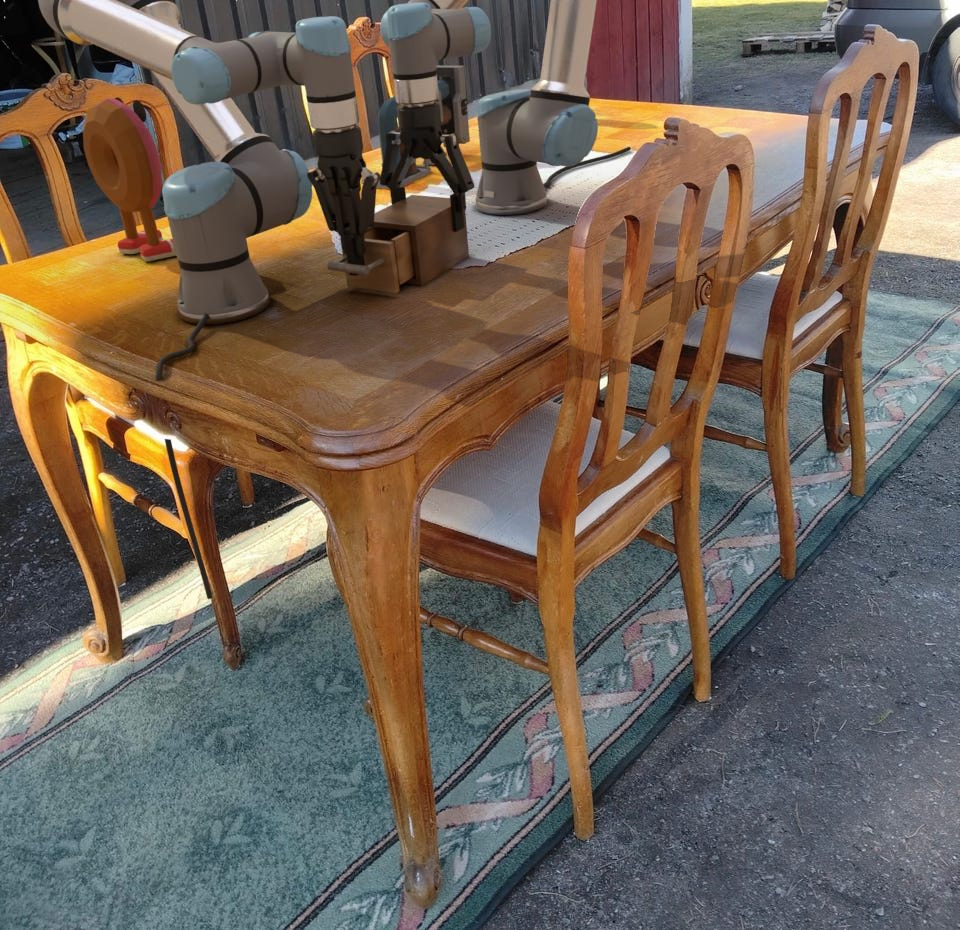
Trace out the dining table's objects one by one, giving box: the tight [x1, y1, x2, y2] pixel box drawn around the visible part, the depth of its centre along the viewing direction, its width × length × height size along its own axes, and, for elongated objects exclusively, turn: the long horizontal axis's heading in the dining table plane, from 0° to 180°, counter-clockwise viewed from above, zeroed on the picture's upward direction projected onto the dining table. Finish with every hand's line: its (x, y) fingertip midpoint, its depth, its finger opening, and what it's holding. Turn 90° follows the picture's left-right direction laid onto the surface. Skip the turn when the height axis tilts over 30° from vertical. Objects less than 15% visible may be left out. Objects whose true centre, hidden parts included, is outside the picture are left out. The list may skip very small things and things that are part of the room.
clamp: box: [376, 65, 471, 190], centre depth 235 cm, size 35×9×21 cm, turn 151°
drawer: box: [326, 227, 416, 294], centre depth 167 cm, size 21×10×9 cm, turn 150°
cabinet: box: [374, 194, 470, 286], centre depth 175 cm, size 16×12×11 cm
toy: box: [82, 96, 177, 262], centre depth 190 cm, size 21×10×30 cm, turn 47°
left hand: (357, 272), depth 162 cm, fingers closed
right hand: (430, 226), depth 178 cm, fingers closed on cabinet, 11 cm apart
